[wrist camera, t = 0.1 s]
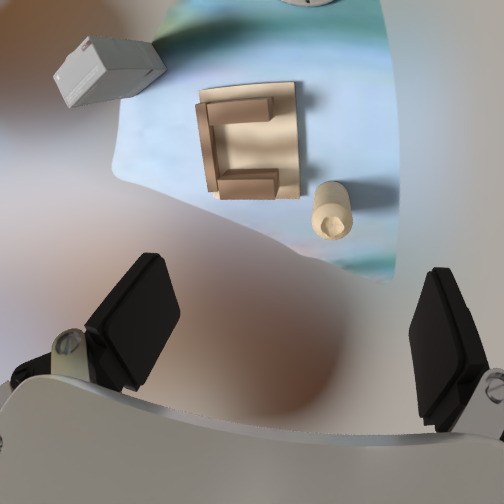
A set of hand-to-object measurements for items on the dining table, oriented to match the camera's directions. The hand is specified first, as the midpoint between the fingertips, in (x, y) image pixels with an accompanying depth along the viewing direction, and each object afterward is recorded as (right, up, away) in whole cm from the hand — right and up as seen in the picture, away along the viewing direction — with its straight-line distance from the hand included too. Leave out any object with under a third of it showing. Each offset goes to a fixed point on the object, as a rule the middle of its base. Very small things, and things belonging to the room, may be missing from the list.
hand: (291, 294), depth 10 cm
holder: (-1, +18, +34) cm, 38 cm away
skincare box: (-19, +32, +30) cm, 47 cm away
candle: (+11, +10, +36) cm, 39 cm away
